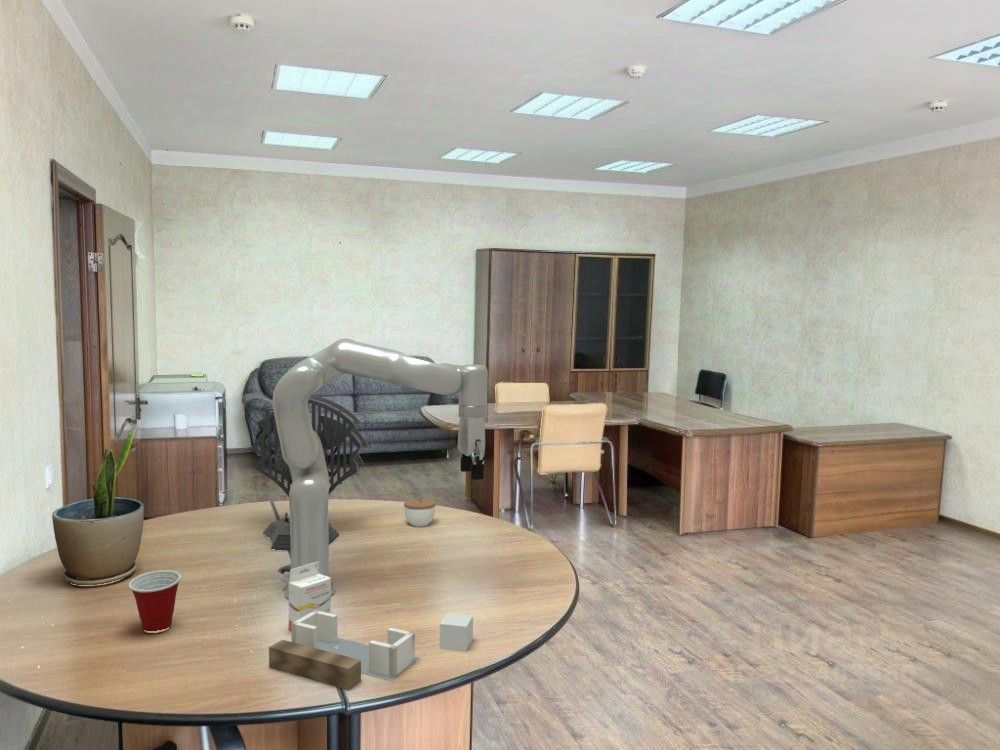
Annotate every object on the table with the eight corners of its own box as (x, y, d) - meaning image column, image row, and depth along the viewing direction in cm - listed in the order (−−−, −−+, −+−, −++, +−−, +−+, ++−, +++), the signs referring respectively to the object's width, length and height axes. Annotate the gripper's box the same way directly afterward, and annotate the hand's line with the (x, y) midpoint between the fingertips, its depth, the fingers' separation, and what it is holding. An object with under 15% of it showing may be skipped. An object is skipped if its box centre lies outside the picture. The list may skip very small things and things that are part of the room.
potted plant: (99, 597, 188) (94, 441, 184) (36, 585, 195) (29, 434, 191) (162, 569, 208) (158, 428, 204) (102, 560, 215) (98, 423, 211)
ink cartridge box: (301, 638, 166) (300, 574, 165) (288, 632, 170) (287, 569, 168) (332, 626, 173) (331, 564, 172) (318, 620, 176) (318, 559, 175)
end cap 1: (291, 650, 160) (291, 623, 159) (315, 635, 167) (315, 609, 166) (313, 656, 157) (313, 628, 157) (337, 641, 164) (337, 615, 164)
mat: (285, 654, 158) (285, 652, 158) (318, 634, 168) (318, 632, 168) (391, 683, 147) (391, 681, 147) (420, 659, 157) (420, 658, 157)
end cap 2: (414, 660, 156) (414, 633, 155) (393, 677, 149) (393, 648, 148) (390, 654, 158) (390, 627, 158) (368, 670, 151) (368, 642, 151)
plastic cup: (119, 637, 165) (117, 585, 164) (148, 617, 176) (147, 568, 175) (164, 641, 164) (163, 588, 163) (191, 621, 174) (190, 571, 173)
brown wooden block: (269, 670, 152) (268, 647, 152) (282, 662, 156) (282, 639, 155) (348, 693, 144) (348, 668, 143) (361, 684, 147) (361, 660, 147)
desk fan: (330, 514, 265) (330, 389, 261) (382, 536, 241) (383, 398, 237) (239, 532, 243) (237, 395, 238) (286, 558, 218) (285, 407, 214)
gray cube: (439, 650, 162) (439, 623, 161) (447, 638, 168) (447, 612, 167) (466, 653, 161) (466, 626, 160) (473, 641, 166) (473, 615, 166)
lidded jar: (424, 518, 263) (424, 492, 262) (441, 525, 254) (441, 498, 253) (398, 523, 256) (398, 496, 255) (415, 530, 247) (415, 503, 247)
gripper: (450, 407, 203) (449, 469, 204) (468, 416, 187) (467, 483, 188) (476, 406, 205) (475, 467, 207) (496, 415, 189) (495, 481, 191)
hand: (471, 475), depth 198 cm, fingers open, 9 cm apart
